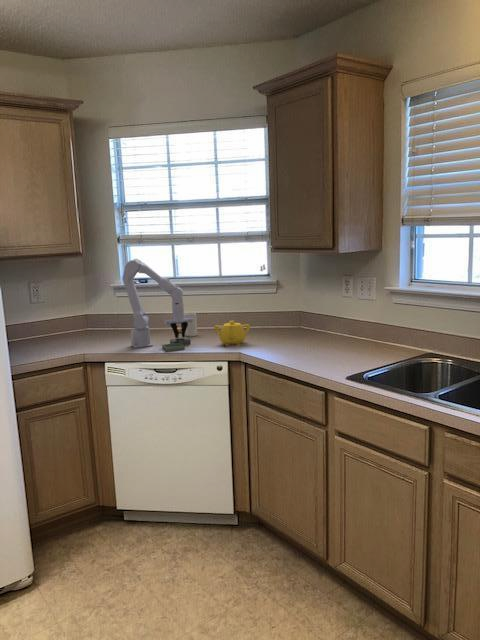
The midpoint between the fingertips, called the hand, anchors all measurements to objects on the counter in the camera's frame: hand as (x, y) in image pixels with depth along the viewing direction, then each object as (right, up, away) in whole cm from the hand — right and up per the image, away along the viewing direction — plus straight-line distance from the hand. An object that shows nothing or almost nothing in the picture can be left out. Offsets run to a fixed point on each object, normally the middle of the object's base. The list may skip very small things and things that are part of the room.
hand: (179, 337), depth 278 cm
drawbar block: (0, -4, +1) cm, 3 cm away
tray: (-2, -5, -9) cm, 11 cm away
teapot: (+27, -4, -6) cm, 28 cm away
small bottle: (0, -3, +1) cm, 3 cm away
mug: (+3, 0, +22) cm, 22 cm away
